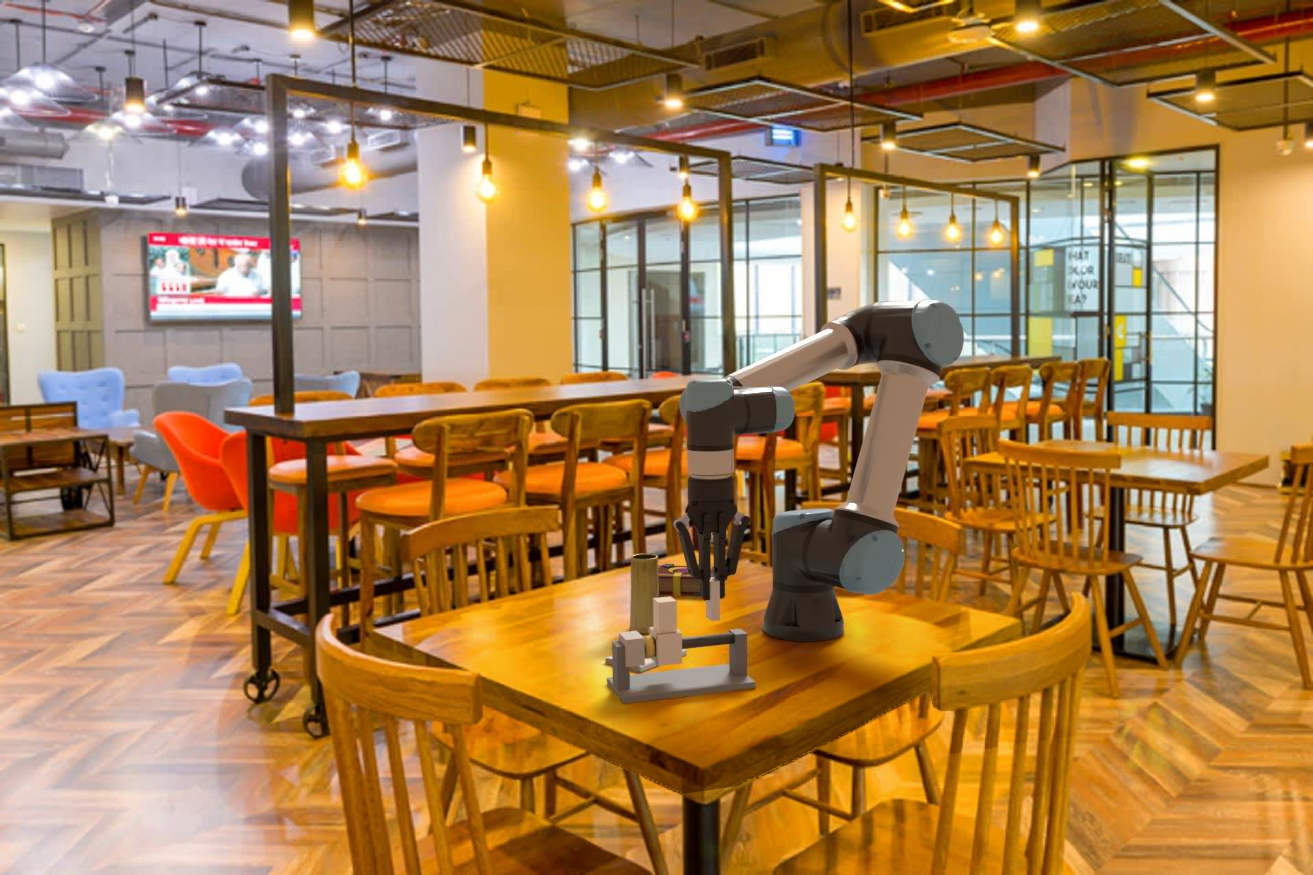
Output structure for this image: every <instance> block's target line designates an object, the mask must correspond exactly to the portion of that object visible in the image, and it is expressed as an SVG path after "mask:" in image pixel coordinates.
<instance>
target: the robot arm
mask: <svg viewBox="0 0 1313 875" xmlns="http://www.w3.org/2000/svg"><path fill="white" fill-rule="evenodd" d="M964 338H965V336H964V327H963V323H962V322H961V319H960V316H959V315H958V312H957V311H956V310H955V309H954V308H953V307H952V306H951V305H949V303H946V302H944V301H942V300H941V301H940V300H929V299H928V298H927V299H925V298H924V299H923V298H922V299H919V300H897V301H896V300H892V301H891V300H890V301H889V300H886V301H885V300H884V301H877V302H872V303H870V304H866V305H863V306H861V307H859V308H856V309H854V310H852V311H850V312H847V313H845V314H843V315H841V316H839V317H836V318H835V319H833V320H830V321H828V322H826V323H825V324H823V325H822V327H821V328H820V331H819V332H817V333H815V334H813V335H810V336H809V337H806V338H805V339H802V340H800V341H798V342H796V343H793V344H792V345H789V346H787V347H785V348H783V349H781V350H779V351H776V352H774V353H771V354H770V355H768V356H766V357H763V358H762V359H760V360H757V361H755V362H753V363H751V364H749V365H747V366H744V367H742V368H740V369H737V370H736V371H734V372H731V373H730V374H728V375H725V376H723V377H720V378H715V377H713V378H712V377H711V378H710V377H709V378H696V379H692V380H689V382H687V385H686V387H685V389H684V390H682V393H681V395H680V398H679V401H678V407H679V412H680V415H681V417H682V418H683V420H684V421H685V424H686V425H685V427H686V432H685V433H686V461H687V462H686V466H687V467H686V470H687V474H689V476H688V477H687V478H686V479H687V483H686V484H687V486H686V487H687V506H686V507H685V509H684V514H683V515H682V516H681V517H679V518H678V519H675V518H674V519H673V520H672V521H671V524H672V527H673V528H674V529H675V531H676V532H677V534H678V537H679V542H680V546H681V549H682V553H683V556H684V562H685V566H687V569H688V573H689V574H690V575H691V576H692V577H694V578H696V579H699V580H700V596H699V597H700V598H701V599H702V600H703V601H705V617H706V619H708V620H709V621H711V622H717V621H718V622H719V621H721V599H725V597H726V581H727V580H728V578H729V576H735V575H736V574H737V569H738V565H739V560H740V556H741V550H742V546H743V541H744V537H745V533H746V529H747V528H748V526H749V524H750V523H751V517H750V516H748V515H746V514H744V513H741V512H740V511H739V510H738V507H737V504H736V503H735V477H734V476H732V475H731V474H733V473H734V472H735V457H734V456H735V454H734V452H735V450H734V449H735V448H734V445H735V437H737V436H738V437H739V436H742V435H743V436H744V435H755V434H766V433H769V434H773V433H775V432H781V431H784V430H785V431H786V430H787V429H788V428H789V427H790V426H791V425H792V423H793V421H794V418H795V402H794V398H793V396H792V395H791V393H790V392H792V391H794V390H796V389H798V388H800V387H802V386H805V385H807V384H809V383H811V382H812V381H815V380H816V379H819V378H821V377H823V376H825V375H827V374H829V373H831V372H834V371H835V370H841V371H845V370H846V371H847V370H849V369H851V368H853V367H856V366H859V365H863V364H875V366H876V368H877V370H878V371H879V373H880V375H881V377H880V380H879V383H878V388H877V391H876V394H875V398H874V401H873V405H872V409H871V412H870V416H869V419H868V422H867V426H866V430H865V433H864V437H863V440H862V444H861V447H860V451H859V455H858V458H857V461H856V465H855V469H854V473H853V476H852V479H851V483H850V486H849V490H848V494H847V498H846V500H845V501H844V502H843V503H842V504H840V505H837V506H835V509H831V508H810V509H809V508H808V509H807V508H806V509H797V510H789V511H784V512H780V513H778V514H776V515H775V516H774V518H773V519H772V520H773V521H772V531H771V556H772V558H771V560H772V563H771V564H772V566H771V567H772V573H771V574H772V589H771V590H772V591H771V594H770V597H769V600H768V603H767V605H766V609H765V612H764V615H763V620H762V622H763V624H762V626H763V627H762V628H763V629H762V630H763V632H765V634H767V635H769V636H771V637H773V638H777V639H782V640H787V641H794V642H818V641H819V642H820V641H826V640H832V639H835V638H838V637H840V636H842V635H843V633H844V632H845V630H844V628H845V626H844V624H845V623H844V617H843V614H842V611H841V608H840V604H839V601H838V598H837V594H836V591H835V589H836V588H839V589H843V590H846V591H848V592H851V593H854V594H863V595H864V594H865V595H877V594H880V593H882V592H884V591H885V590H886V589H888V588H890V587H891V586H892V585H893V584H894V583H895V582H896V581H897V579H898V578H899V576H900V574H901V572H902V570H903V568H904V564H905V556H906V555H905V553H906V552H905V550H904V549H903V548H904V543H903V540H902V539H901V538H900V537H899V535H898V532H899V527H900V525H899V523H898V521H897V520H896V517H895V514H894V513H895V510H896V506H897V502H898V499H899V495H900V492H901V488H902V484H903V481H904V477H905V474H906V469H907V466H908V464H909V463H908V462H909V458H910V455H911V451H912V448H913V444H914V441H915V437H916V434H917V430H918V426H919V423H920V419H921V415H922V411H923V407H924V405H925V404H924V403H925V400H926V398H927V393H928V389H929V388H930V387H932V386H933V385H935V384H937V383H938V382H940V380H941V375H942V371H943V369H944V368H945V367H946V368H947V367H948V366H951V365H953V364H955V362H957V360H958V359H959V358H960V356H961V355H962V352H963V349H964V348H963V347H964V342H965V340H964ZM943 367H944V368H943ZM690 523H691V524H692V525H693V527H694V529H695V530H696V535H697V540H698V546H697V547H698V553H697V554H698V560H697V555H696V552H695V547H694V544H693V540H692V536H691V534H690V531H689V529H690ZM731 523H733V526H732V527H731V528H732V529H731V533H730V539H729V543H728V547H727V551H726V538H727V528H728V527H729V525H730V524H731ZM712 537H713V538H712ZM711 540H712V543H713V544H712V548H713V550H712V551H713V567H714V575H715V578H714V577H711V565H712V564H711V563H712V562H711V560H712V557H711ZM726 552H727V553H726ZM698 565H699V567H698ZM835 587H836V588H835Z"/></svg>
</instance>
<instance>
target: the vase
mask: <svg viewBox="0 0 1313 875" xmlns="http://www.w3.org/2000/svg"><path fill="white" fill-rule="evenodd" d="M658 565H659V556H658V555H657V554H653V553H636V554H632V555H631V556H630V603H629V604H630V611H629V617H630V618H629V631H637V632H638V633H639V634H641V635H643V634H649V627H654V626H653V598H660V595H659V578H658Z"/></svg>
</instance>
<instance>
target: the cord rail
mask: <svg viewBox="0 0 1313 875" xmlns="http://www.w3.org/2000/svg"><path fill="white" fill-rule="evenodd" d="M724 645H728V653H729V654H728V660H729V661H728V663H724V664H718V665H717V664H715V665H708V666H707V665H706V666H698V667H691V668H680V669H673V670H664V671H663V670H662V671H654V672H645V673H636V674H631V672H630V671H631V670H630V667H634V666H643V665H645V659H649V658H653V657H654V654H655V652H656V641H653V638H652V636H651V635H649V634H648V635H643V634H642V633H638V632H637V631H630V630H629V631H622V632H618V640H617V641H616V640H615V641H612V642H611V649H612V650H611V651H612V652H611V656H612V665H611V667H612V676H610V677H606V681H607V682H606V684H607V685H608V687H609V688H610V689H611V690H612V692H614V694H615V695H616V696H617V698H619V700H620V701H621V702H622V703H623V704H632V703H633V704H634V703H642V702H649V701H659V700H665V699H666V700H667V699H674V698H682V697H684V698H685V697H692V696H699V695H706V694H717V693H722V692H723V693H725V692H732V691H739V690H748V689H749V690H750V689H755V688H757V687H756V685H757V684H756V683H757V681H755V680H754V679H753V678H751V677H750V676H749V675H748V632H746V631H744V630H743V629H742V628H734V629H732V628H731V629H728V632H724V633H715V634H707V635H706V634H705V635H695V636H686V637H682V649H685V650H687V649H696V648H697V649H698V648H705V647H715V646H724Z"/></svg>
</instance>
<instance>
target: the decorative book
mask: <svg viewBox="0 0 1313 875" xmlns="http://www.w3.org/2000/svg"><path fill="white" fill-rule="evenodd" d="M698 567H699V564H698ZM711 577H714V578H715V575H714V566H711ZM658 578H659V596H661V595H672V596H673V597H674V596H676V597H677V596H678V597H681V595H682V596H683V595H684V596H685V595H686V596H687V595H690V596H694V597H701V596H700V580H699V579H696V578H694V577H692V576H691V575H690V574H689V573H688V569H687V565H675V563H665V564H658Z"/></svg>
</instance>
